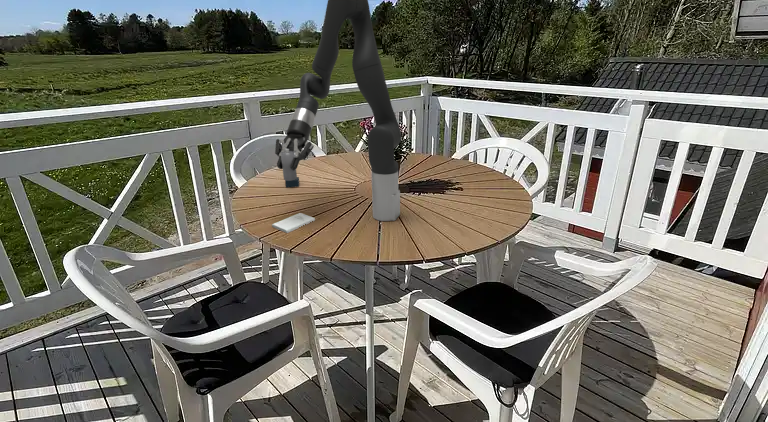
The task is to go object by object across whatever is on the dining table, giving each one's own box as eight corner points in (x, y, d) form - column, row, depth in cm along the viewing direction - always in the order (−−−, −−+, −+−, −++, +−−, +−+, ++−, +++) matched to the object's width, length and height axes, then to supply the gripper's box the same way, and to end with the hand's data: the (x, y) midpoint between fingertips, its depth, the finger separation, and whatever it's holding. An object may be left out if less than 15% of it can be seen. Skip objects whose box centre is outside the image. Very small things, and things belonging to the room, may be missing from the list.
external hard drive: (272, 228, 136) (299, 216, 145) (287, 234, 131) (315, 221, 140) (271, 223, 135) (299, 212, 144) (286, 230, 130) (314, 217, 139)
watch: (299, 182, 177) (297, 158, 173) (298, 188, 170) (295, 163, 166) (287, 182, 177) (284, 159, 172) (285, 189, 169) (282, 164, 165)
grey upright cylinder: (299, 177, 134) (296, 147, 130) (292, 181, 130) (289, 151, 126) (288, 175, 136) (284, 146, 131) (281, 179, 132) (277, 150, 128)
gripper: (278, 117, 134) (261, 161, 128) (315, 119, 129) (299, 165, 124) (288, 129, 141) (273, 172, 135) (324, 132, 136) (309, 176, 131)
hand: (286, 168), depth 130 cm, fingers closed on grey upright cylinder, 4 cm apart
